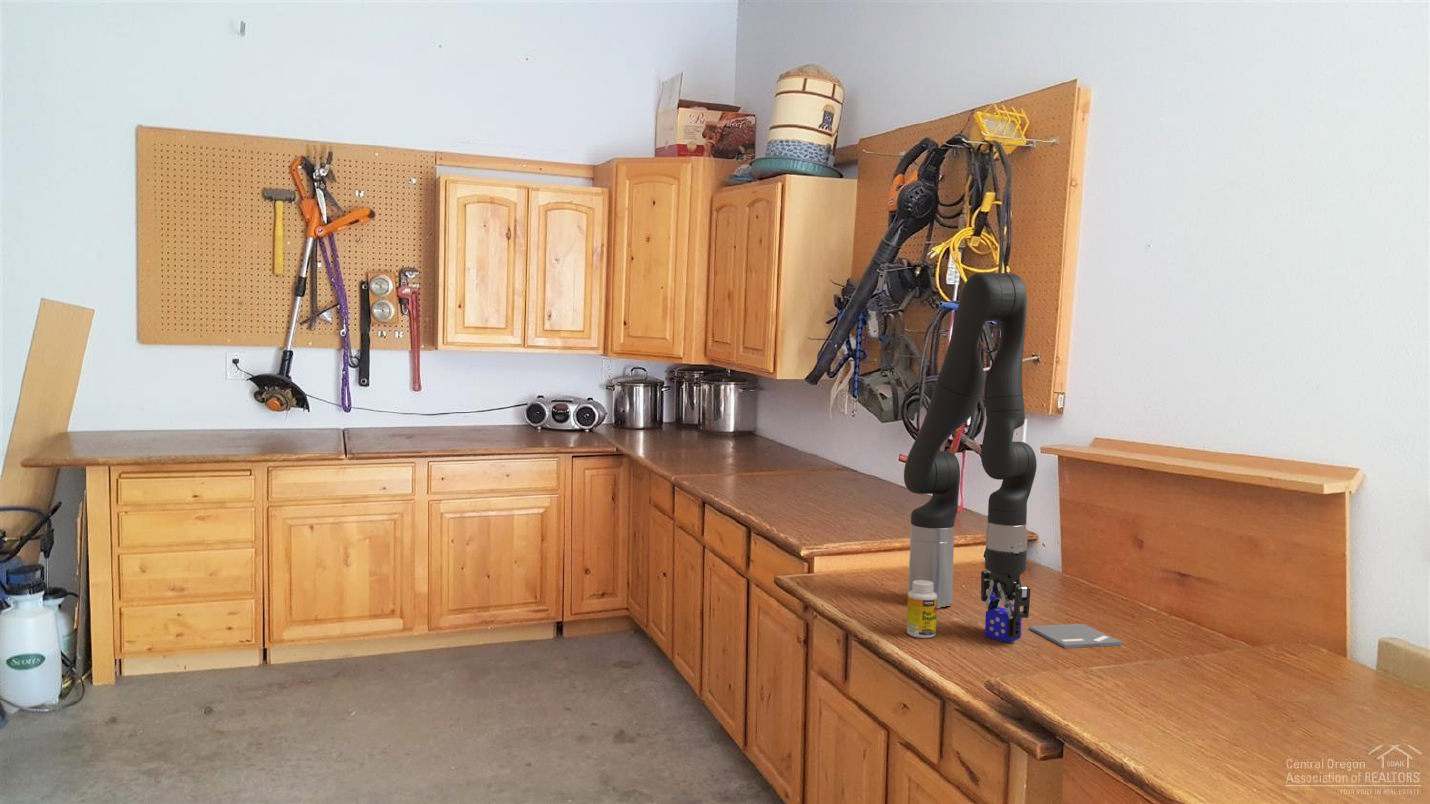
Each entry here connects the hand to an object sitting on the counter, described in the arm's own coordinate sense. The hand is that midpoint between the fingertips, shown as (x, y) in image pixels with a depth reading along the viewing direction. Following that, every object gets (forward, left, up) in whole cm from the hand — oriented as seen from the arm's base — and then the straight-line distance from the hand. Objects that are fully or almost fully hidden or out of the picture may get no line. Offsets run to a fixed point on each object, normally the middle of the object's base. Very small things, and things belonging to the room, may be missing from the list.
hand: (1003, 632), depth 173 cm
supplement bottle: (-4, -15, -1) cm, 16 cm away
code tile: (+2, +14, -1) cm, 14 cm away
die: (0, 0, -1) cm, 1 cm away
